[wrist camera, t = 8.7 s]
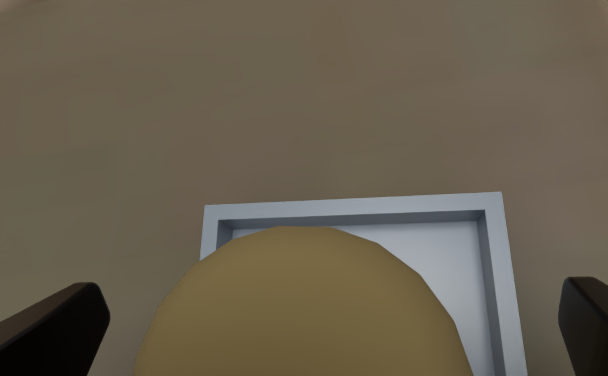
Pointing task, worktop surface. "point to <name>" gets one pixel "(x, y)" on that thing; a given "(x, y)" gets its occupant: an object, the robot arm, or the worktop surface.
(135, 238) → the worktop surface
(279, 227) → the cork
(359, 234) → the tray
